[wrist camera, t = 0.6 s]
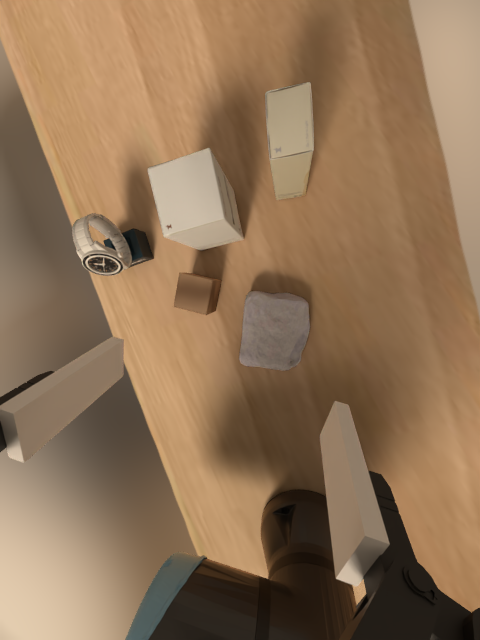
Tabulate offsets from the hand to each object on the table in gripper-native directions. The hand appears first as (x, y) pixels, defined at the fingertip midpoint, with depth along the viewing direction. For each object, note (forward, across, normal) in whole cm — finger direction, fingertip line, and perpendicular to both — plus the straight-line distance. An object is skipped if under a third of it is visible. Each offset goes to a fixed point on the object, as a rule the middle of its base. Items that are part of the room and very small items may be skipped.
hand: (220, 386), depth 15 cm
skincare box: (+29, +1, -16) cm, 33 cm away
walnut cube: (+25, +10, +3) cm, 27 cm away
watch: (+26, +22, -1) cm, 34 cm away
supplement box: (+27, +10, -8) cm, 30 cm away
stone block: (+25, -3, +6) cm, 25 cm away
